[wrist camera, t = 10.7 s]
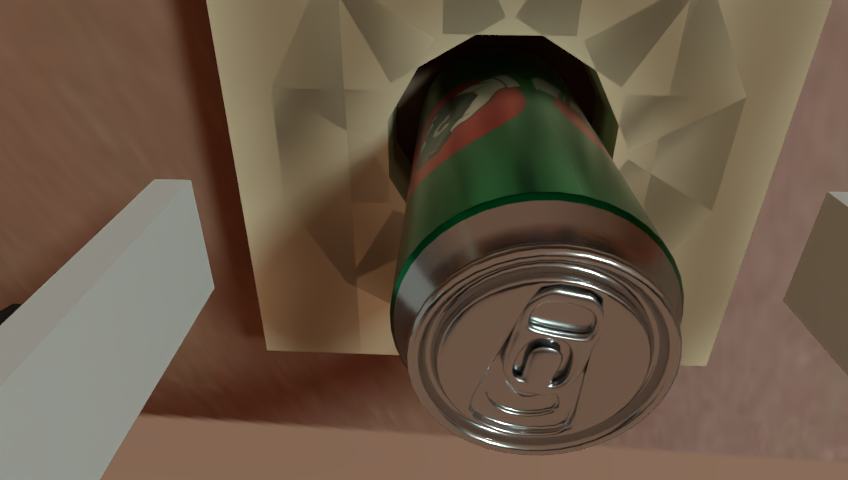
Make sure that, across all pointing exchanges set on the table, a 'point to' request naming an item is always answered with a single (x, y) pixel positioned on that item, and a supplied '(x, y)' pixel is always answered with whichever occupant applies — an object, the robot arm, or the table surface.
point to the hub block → (390, 168)
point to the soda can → (528, 268)
